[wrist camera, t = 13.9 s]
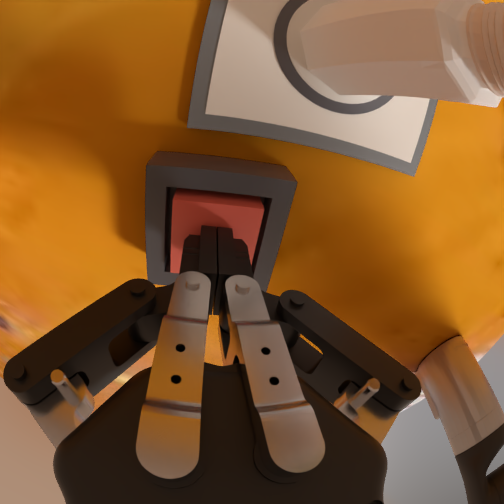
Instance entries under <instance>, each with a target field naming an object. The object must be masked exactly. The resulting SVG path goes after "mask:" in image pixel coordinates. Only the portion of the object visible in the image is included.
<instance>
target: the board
mask: <svg viewBox="0 0 504 504" xmlns="http://www.w3.org/2000/svg"><path fill="white" fill-rule="evenodd" d="M338 1H341V0H211V3H210V7H209V11H208V15H207V19H206V23H205V28H204V32H203V37H202V41H201V46H200V51H199V56H198V61H197V66H196V72H195V77H194V83H193V89H192V95H191V102H190V108H189V115H188V123H187V128H196V129H206V130H215V131H224V132H231V133H239V134H245V135H252V136H258V137H264V138H270V139H275V140H281V141H286V142H291V143H296V144H301V145H305V146H310V147H314V148H318V149H323V150H327V151H331V152H335V153H339V154H342V155H346V156H350V157H354V158H357V159H361V160H364V161H367V162H371V163H374V164H377V165H381V166H384V167H387V168H390V169H393V170H396V171H399V172H402V173H405V174H408V175H410V176H413V177H414V176H415V173H416V170H417V167H418V165H419V162H420V159H421V156H422V153H423V150H424V147H425V144H426V140H427V137H428V134H429V131H430V127H431V124H432V120H433V117H434V113H435V109H436V105H437V101H438V100H437V99H429V98H419V97H406V96H387V95H338V94H337V93H336V92H335V91H334V90H332V89H331V88H330V87H329V86H328V85H326V84H325V83H324V82H322V81H321V80H320V79H319V78H317V77H316V76H315V75H313V74H312V73H311V72H309V71H308V70H307V64H306V59H305V54H304V49H303V44H302V40H301V35H300V31H301V30H302V29H303V28H304V26H305V25H306V24H307V23H308V22H309V21H310V20H311V18H312V17H313V16H314V15H315V14H316V13H317V12H318V11H319V10H320V8H321V7H322V6H325V5H328V4H331V3H334V2H338Z"/></svg>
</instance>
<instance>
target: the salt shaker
mask: <svg viewBox="0 0 504 504" xmlns="http://www.w3.org/2000/svg"><path fill="white" fill-rule="evenodd" d="M300 35H301V40H302V44H303V49H304V54H305V59H306V64H307V70H308V71H309V72H311V73H312V74H313V75H315V76H316V77H317V78H319V79H320V80H321V81H322V82H324V83H325V84H326V85H328V86H329V87H330V88H331V89H332V90H334V91H335V92H336V93H337V94H338V95H387V96H406V97H419V98H429V99H437V100H445V101H453V102H462V103H468V104H474V105H481V106H488V107H497V106H498V104H499V102H500V100H501V98H502V97H504V3H499V2H497V3H494V2H491V3H489V4H484V2H483V1H481V0H341V1H338V2H334V3H331V4H328V5H325V6H322V7H321V8H320V10H319V11H318V12H317V13H316V14H315V15H314V16H313V17H312V18H311V20H310V21H309V22H308V23H307V24H306V25H305V26H304V28H303V29H302V30H301V31H300Z"/></svg>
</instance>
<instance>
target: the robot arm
mask: <svg viewBox="0 0 504 504" xmlns="http://www.w3.org/2000/svg"><path fill="white" fill-rule="evenodd" d="M212 309H213V315H219V325H218V334H219V341H220V347H221V354H222V361H223V366H217V365H213V364H209V363H205V362H204V356H205V344H206V332H207V325H208V319H209V315H212ZM300 334H302V335H303V336H304V337H306V338H307V339H308V340H309V341H311V342H312V343H313V344H315V345H316V346H317V347H318V348H319V349H320V350H321V351H322V353H323V354H321V353H320V352H319V351H317V350H316V349H315V348H314V347H312V346H311V345H310V344H308V343H307V342H306V341H305V340H303V339H302V338H301V337H300ZM156 344H157V345H156ZM155 345H156V350H155V354H154V359H153V364H152V367H149V368H147V369H144V370H142V371H140V372H139V373H137V374H136V375H134V376H133V377H132V378H131V379H129V380H128V381H127V382H126V383H125V384H124V385H123V386H122V387H121V388H120V389H119V390H118V391H116V392H115V393H114V394H113V395H112V396H111V397H110V398H109V399H108V400H107V401H105V402H104V403H103V404H102V405H101V406H100V407H99V408H98V409H97V410H96V411H94V412H93V413H92V411H93V409H94V404H95V402H94V398H93V397H94V396H95V395H96V394H97V393H99V392H100V391H101V390H102V389H103V388H105V387H106V386H107V385H108V384H110V383H111V382H112V381H113V380H114V379H116V378H117V377H118V376H119V375H120V374H122V373H123V372H124V371H125V370H127V369H128V368H129V367H130V366H131V365H133V364H134V363H135V362H136V361H137V360H139V359H140V358H141V357H142V356H143V355H145V354H146V353H147V352H148V351H149V350H151V349H152V348H153V347H154V346H155ZM3 377H4V382H5V384H6V386H7V387H8V388H9V389H10V390H11V391H12V392H13V393H14V394H15V395H16V397H17V398H18V399H19V401H20V402H21V403H22V404H23V405H24V406H26V407H27V408H28V409H29V410H30V412H31V414H32V415H33V417H34V418H35V420H36V421H37V423H38V424H39V426H40V427H41V429H42V430H43V432H44V433H45V434H46V436H47V437H48V438H49V440H50V441H51V443H52V444H53V445H54V446H55V448H56V452H55V455H54V461H53V466H54V473H55V477H56V480H57V482H58V484H59V487H60V489H61V491H62V493H63V496H64V498H65V502H66V504H384V502H383V489H384V481H385V477H386V472H387V457H386V454H385V451H384V449H383V447H382V446H381V443H382V441H383V440H384V438H385V436H386V434H387V433H388V431H389V429H390V428H391V426H392V424H393V422H394V421H395V419H396V417H397V415H398V413H399V412H400V411H402V410H403V409H404V408H406V407H407V406H408V405H409V404H411V403H412V402H413V401H414V400H415V399H417V398H418V397H419V395H420V393H421V388H422V390H423V393H424V395H425V397H426V399H427V401H428V404H429V406H430V408H431V411H432V413H433V415H434V417H435V419H439V418H440V419H441V422H442V424H443V426H444V429H445V431H446V434H447V436H448V439H449V441H450V444H451V447H452V449H453V452H454V455H455V458H456V460H457V463H458V466H459V469H460V472H461V475H462V478H463V481H464V485H465V489H466V494H467V500H468V504H504V464H502V465H501V466H500V467H498V468H497V469H496V470H494V471H493V472H491V473H490V474H489V475H487V476H486V471H487V469H488V467H489V465H490V463H491V461H492V460H493V458H494V457H495V456H496V454H497V453H498V451H499V450H500V449H501V448H502V446H503V445H504V413H503V411H502V409H501V406H500V405H499V403H498V400H497V398H496V396H495V394H494V392H493V390H492V388H491V386H490V384H489V382H488V380H487V378H486V377H485V375H484V373H483V371H482V369H481V367H480V366H479V364H478V362H477V360H476V359H475V357H474V355H473V353H472V352H471V350H470V348H469V347H468V345H467V343H466V342H465V340H464V339H463V337H462V336H457V337H454V338H452V339H450V340H448V341H446V342H445V343H443V344H442V345H440V346H439V347H438V348H436V349H435V350H434V351H433V352H431V353H430V354H429V355H428V356H427V357H426V358H425V359H424V360H423V361H422V362H421V364H420V365H419V367H418V371H417V372H416V373H415V374H414V373H412V372H411V371H410V370H408V369H407V368H406V367H404V366H403V365H401V364H400V363H399V362H397V361H396V360H395V359H393V358H392V357H390V356H389V355H388V354H386V353H385V352H384V351H382V350H381V349H380V348H378V347H377V346H375V345H374V344H373V343H371V342H370V341H369V340H367V339H366V338H365V337H363V336H362V335H360V334H359V333H358V332H356V331H355V330H354V329H352V328H351V327H350V326H348V325H347V324H345V323H344V322H343V321H341V320H340V319H339V318H337V317H336V316H335V315H333V314H332V313H330V312H329V311H328V310H326V309H325V308H324V307H322V306H321V305H320V304H318V303H317V302H316V301H314V300H313V299H311V298H310V297H309V296H307V295H306V294H304V293H302V292H300V291H296V290H288V291H285V292H283V293H282V294H281V296H280V297H279V296H275V295H272V294H269V293H266V292H264V291H263V290H261V289H260V286H259V284H258V283H257V281H255V280H254V278H253V273H252V268H251V262H250V257H249V251H248V246H247V245H246V243H245V242H244V241H243V240H242V239H235V238H233V230H232V228H226V227H217V230H216V227H215V226H205V225H201V233H200V235H190V234H189V236H188V237H187V238H186V239H185V240H184V245H183V251H182V258H181V265H180V272H179V276H178V277H177V278H176V280H175V282H173V283H172V284H170V285H167V286H163V287H157V288H155V286H154V285H153V283H151V282H150V281H148V280H145V279H132V280H129V281H127V282H125V283H124V284H122V285H121V286H119V287H117V288H116V289H114V290H113V291H111V292H109V293H108V294H106V295H105V296H103V297H101V298H100V299H98V300H97V301H95V302H94V303H92V304H91V305H89V306H87V307H86V308H84V309H83V310H81V311H80V312H78V313H77V314H75V315H74V316H72V317H71V318H69V319H68V320H66V321H65V322H63V323H62V324H60V325H59V326H57V327H56V328H54V329H53V330H51V331H50V332H48V333H47V334H45V335H44V336H43V337H41V338H40V339H38V340H37V341H35V342H34V343H32V344H31V345H30V346H28V347H27V348H25V349H24V350H23V351H21V352H20V353H18V354H17V355H16V356H14V357H13V358H11V359H10V360H9V361H8V362H7V364H6V366H5V368H4V373H3ZM325 398H326V399H325ZM330 402H331V403H332V404H331V403H330ZM91 413H92V414H91ZM90 414H91V415H90ZM89 415H90V416H89Z"/></svg>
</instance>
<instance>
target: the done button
mask: <svg viewBox="0 0 504 504" xmlns="http://www.w3.org/2000/svg"><path fill="white" fill-rule="evenodd" d="M263 213H264V207H263V204H262V201H261V198H260V196H252V195H244V194H235V193H227V192H217V191H208V190H198V189H187V188H177V189H176V192H175V195H174V198H173V205H172V226H171V273H179V272H180V265H181V258H182V251H183V245H184V240H185V239H186V238H187V237H188V236H189V234H190V235H200V233H201V225H205V226H215V227H216V230H217V227H226V228H232V230H233V238H235V239H242V240H243V241H244V242H245V243H246V245H247V246H248V251H249V257H250V262H251V265H252V260H253V256H254V252H255V247H256V243H257V239H258V235H259V230H260V226H261V222H262V217H263Z"/></svg>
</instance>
